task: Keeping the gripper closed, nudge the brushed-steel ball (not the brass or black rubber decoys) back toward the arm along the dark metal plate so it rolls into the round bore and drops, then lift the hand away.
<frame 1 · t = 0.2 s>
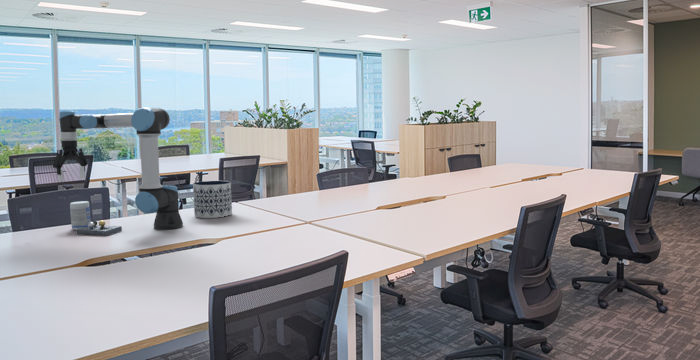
hand: (72, 179, 288), 27 cm above the table, fingers open, 13 cm apart
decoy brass: (102, 223, 283), point 4 cm above the table, touching plate
plate: (99, 232, 280), on the table
steel ball: (91, 225, 279), point 4 cm above the table, touching plate
planter: (213, 215, 326), on the table
supplement tub: (81, 229, 291), on the table
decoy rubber: (94, 223, 285), point 4 cm above the table, touching plate
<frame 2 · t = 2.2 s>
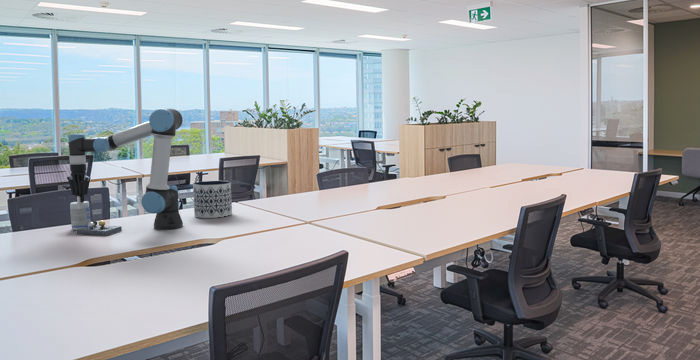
hand: (80, 208, 280), 13 cm above the table, fingers closed
nothing on the table moved.
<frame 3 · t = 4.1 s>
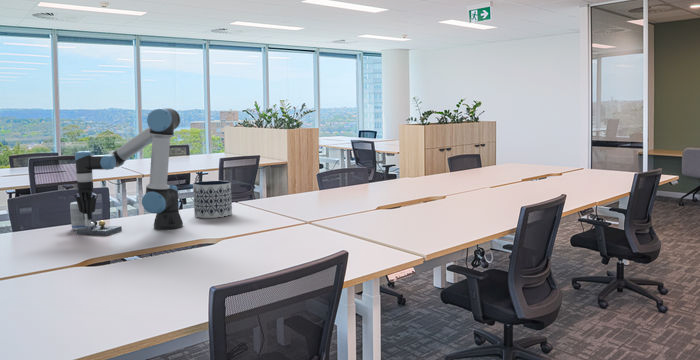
hand: (88, 225, 280), 4 cm above the table, fingers closed
steel ball: (91, 225, 279), point 4 cm above the table, tilted 11°, touching gripper, plate
everything else where it was.
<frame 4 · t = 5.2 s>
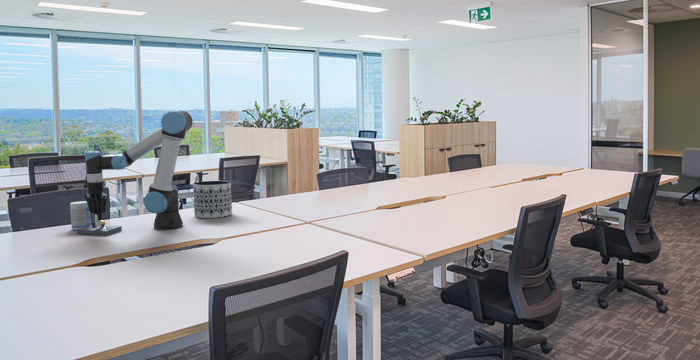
hand: (98, 226, 278), 4 cm above the table, fingers closed
steel ball: (104, 230, 277), point 2 cm above the table, tilted 52°
everything else where it was.
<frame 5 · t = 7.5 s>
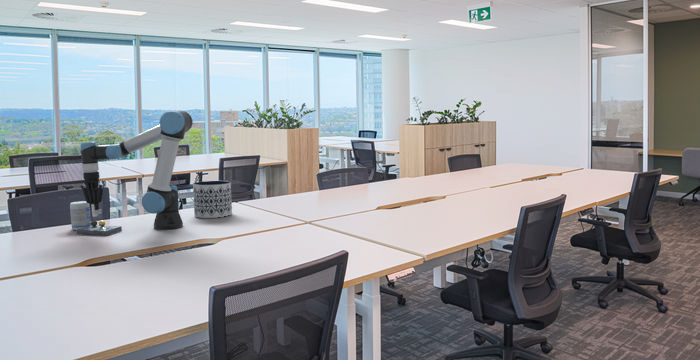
hand: (95, 216, 279), 9 cm above the table, fingers closed
steel ball: (103, 230, 278), point 2 cm above the table, tilted 78°
everything else where it was.
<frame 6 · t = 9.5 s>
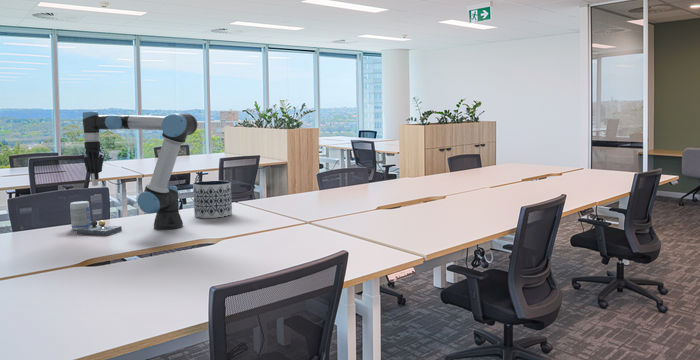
hand: (95, 185, 282), 24 cm above the table, fingers closed
steel ball: (102, 230, 278), point 2 cm above the table, tilted 92°
everything else where it was.
at the end: steel ball 0.6 cm from the target spot in the plate, point 1.6 cm above the plate's base; steel ball point 1.6 cm above the table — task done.
